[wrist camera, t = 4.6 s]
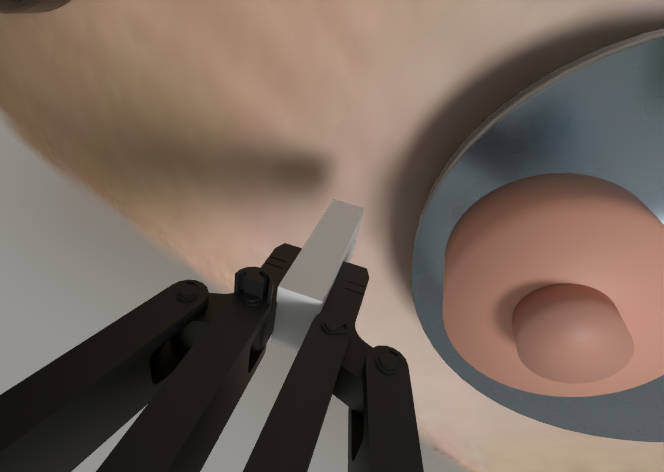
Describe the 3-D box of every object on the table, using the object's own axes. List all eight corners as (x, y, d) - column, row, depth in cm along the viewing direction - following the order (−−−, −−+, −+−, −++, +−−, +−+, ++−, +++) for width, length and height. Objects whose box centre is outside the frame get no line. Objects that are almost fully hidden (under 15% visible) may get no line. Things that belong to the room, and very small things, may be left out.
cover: (422, 300, 21) (413, 381, 17) (485, 148, 16) (497, 207, 11) (589, 352, 20) (628, 456, 15) (716, 207, 15) (829, 297, 10)
